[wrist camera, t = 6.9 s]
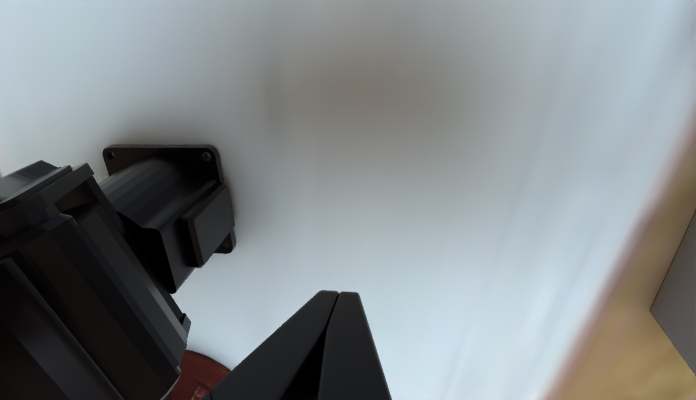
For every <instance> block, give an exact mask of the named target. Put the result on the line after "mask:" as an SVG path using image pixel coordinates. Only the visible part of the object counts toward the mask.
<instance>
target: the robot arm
mask: <svg viewBox="0 0 696 400" xmlns="http://www.w3.org/2000/svg"><path fill="white" fill-rule="evenodd" d="M205 152H207V153H209V154H210V156H211V159H209V158H207V157H206V155H205ZM112 153H114V154H115V156H116V158H115V157H114V156H113V155H112ZM103 158H104V161H105V164H106V167H107V170H108V174H109V177H108V178H107V179H105V180H104V181H102V182H100V183H99V184H97V182H96V180H95V179H94V177H93V176H92V175H94V172H93V171H92V169H91V168H90V166H89V165H88V163H84V164H81V165H79V166H76V167H73V168H71V166H70V165H68V166H65V167H62V168H61V167H59V168H57V167H55V166H53V165H51V164H49V163H46V162H44V161H42V160H41V161H38V162H36V163H33V164H31V165H28V166H26V167H24V168H22V169H20V170H17V171H15V172H13V173H11V174H9V175H7V176H4V177H2V178H0V400H166V399H167V398H168V396H169V394H170V393H171V391H172V389H173V387H174V385H175V384H176V383H177V381H178V379H179V377H180V374H181V370H180V369H179V366H180V362H181V358H182V356H183V354H184V351H185V349H186V346H187V336H188V333H189V329H190V325H191V321H190V320H189V318H188V317H187V315H186V314H185V313H182V312H181V310H180V309H179V307H178V306H177V304H176V303H175V301H174V299H173V298H172V296H171V295H170V294H173V293H175V292H176V291H177V290H178V289H179V288H180V286H181V285H182V284H183V283H184V281H185V280H186V279H187V278H188V276H189V275H190V274H191V273H192V271H193V270H194V269H195V268H201V267H203V266H204V264H205V263H206V262H207V261H208V259H209V258H210V257H211V256H212V254H213V253H223V254H228V253H231V252H232V251H233V249H234V248H235V246H236V242H235V237H234V232H233V227H234V226H235V223H234V217H233V212H232V207H231V202H230V196H229V191H228V187H227V185H226V184H225V183H224V180H223V175H222V170H221V164H220V159H219V154H218V152H217V150H216V149H215V148H214V147H212V146H209V145H111V146H109V147H107V148H105V149H104V150H103ZM224 243H227V244H228V245H229V246H226V245H224ZM200 400H392V398H391V395H390V392H389V389H388V385H387V382H386V379H385V376H384V372H383V369H382V366H381V363H380V360H379V356H378V353H377V350H376V347H375V344H374V340H373V337H372V334H371V331H370V328H369V324H368V321H367V318H366V315H365V312H364V308H363V305H362V302H361V299H360V296H359V294H358V293H357V292H341V293H340V294H339V292H337V291H327V290H321V291H319V292H318V293H317V294H316V295H315V296H314V297H313V298H311V299H310V300H309V301H308V302H307V303H306V304H305V305H304V306H303V307H301V308H300V309H299V310H298V311H297V312H296V313H295V314H294V315H293V316H292V317H290V318H289V319H288V320H287V321H286V322H285V323H284V324H283V325H282V326H281V327H279V328H278V329H277V330H276V331H275V332H274V333H273V334H272V335H271V336H269V337H268V338H267V339H266V340H265V341H264V342H263V343H262V344H261V345H260V346H258V347H257V348H256V349H255V350H254V351H253V352H252V353H251V354H250V355H248V356H247V357H246V358H245V359H244V360H243V361H242V362H241V363H240V364H239V365H237V366H236V367H235V368H234V369H233V370H232V371H231V372H230V373H229V374H228V375H226V376H225V377H224V378H223V379H222V380H221V381H220V382H219V383H218V384H216V385H215V386H214V387H213V388H212V389H211V390H210V393H206V394H205V395H204V396H203V397H202V398H201V399H200Z"/></svg>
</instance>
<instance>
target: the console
mask: <svg viewBox="0 0 696 400" xmlns="http://www.w3.org/2000/svg"><path fill="white" fill-rule="evenodd" d="M650 312H651V314H652V315H653V317H654V318H655V319H656V321H657V322H658V324H659V325H660V326H661V328H662V329H663V331H664V332H665V333H666V335H667V336H668V338H669V339H670V340H671V342H672V343H673V345H674V346H675V348H676V349H677V350H678V352H679V353H680V355H681V356H682V357H683V359H684V360H685V362H686V363H687V364H688V366H689V367H690V369H691V370H692V371H693V373H694V374H695V376H696V212H695V214H694V216H693V219H692V221H691V223H690V225H689V227H688V229H687V232H686V234H685V236H684V238H683V240H682V242H681V245H680V247H679V249H678V251H677V253H676V256H675V258H674V260H673V262H672V264H671V266H670V269H669V271H668V273H667V275H666V277H665V279H664V282H663V284H662V286H661V288H660V290H659V292H658V295H657V297H656V299H655V301H654V303H653V306H652V308H651V310H650Z"/></svg>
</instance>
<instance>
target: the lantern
mask: <svg viewBox="0 0 696 400" xmlns="http://www.w3.org/2000/svg"><path fill="white" fill-rule="evenodd" d="M179 369H180V370H181V374H180V377H179V379H178V381H177V383H176V384H175V385H174V387H173V389H172V391H171V393H170V394H169V396H168V398H167V399H166V400H200V399H201V398H202V397H203V396H204V395H205V394H206V393H210V390H211V389H212V388H213V387H214V386H215V385H216V384H218V383H219V382H220V381H221V380H222V379H223V378H224V377H225V376H226V375H228V374H229V373H230V372H231V371H229V370H228V369H227V368H226V367H224V366H223V365H221V364H219V363H217V362H215V361H213V360H211V359H209V358H207V357H204V356H202V355H199V354H197V353H194V352H192V351H187V350H185V351H184V354H183V356H182V358H181V362H180V366H179Z"/></svg>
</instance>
